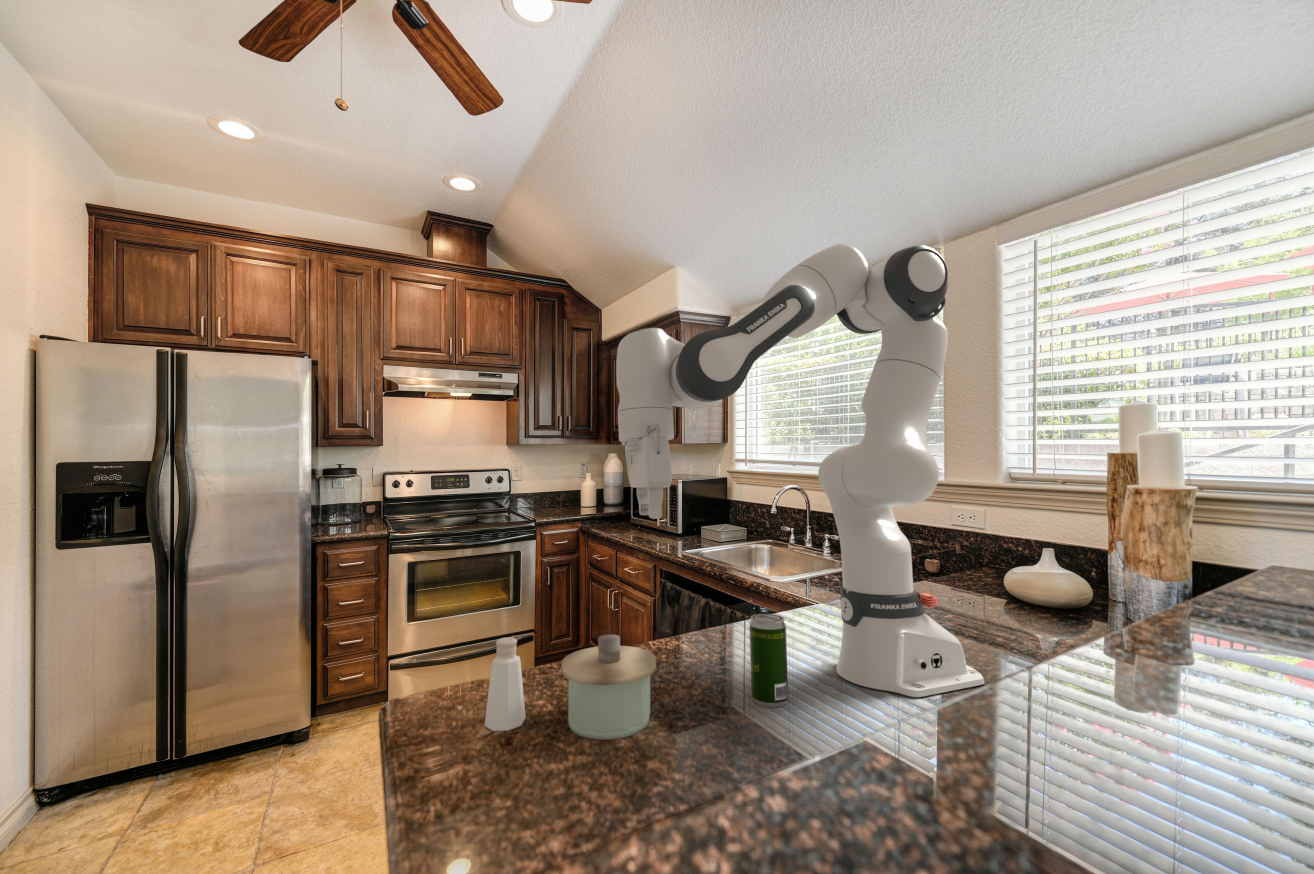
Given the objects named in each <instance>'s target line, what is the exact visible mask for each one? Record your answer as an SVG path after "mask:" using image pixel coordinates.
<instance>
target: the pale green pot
mask: <svg viewBox="0 0 1314 874" xmlns="http://www.w3.org/2000/svg"><path fill="white" fill-rule="evenodd" d="M567 703H568V709H567V710H568V716H567V717H568V719H567V721H568V724H567V725H568V728H569V729H570V730H571V731H572V732H573V733H574V734H576V735H577V736H580V737H583V738H585V739H586V738H587V739H591V740H601V741H603V740H605V741H608V740H617V739H619V740H620V739H622V738H623V739H624V738H627V737H631V736H633V735H635V734H638V733H640V732H641V731H643V730H644V729H646V727H647V726H648V725H649V723H650V715H651V675H649V676H647V677H645V678H643V679H640V680H638V681H634V682H630V683H624V684H616V685H590V684H583V683H578V682H575V681H572V680H570V679H568V702H567Z"/></svg>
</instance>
